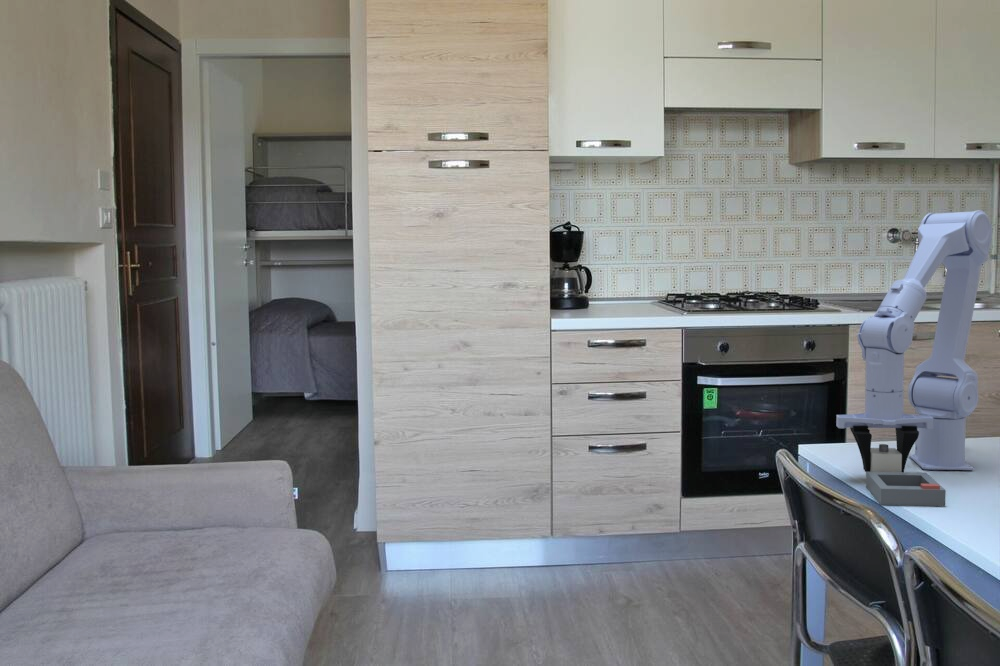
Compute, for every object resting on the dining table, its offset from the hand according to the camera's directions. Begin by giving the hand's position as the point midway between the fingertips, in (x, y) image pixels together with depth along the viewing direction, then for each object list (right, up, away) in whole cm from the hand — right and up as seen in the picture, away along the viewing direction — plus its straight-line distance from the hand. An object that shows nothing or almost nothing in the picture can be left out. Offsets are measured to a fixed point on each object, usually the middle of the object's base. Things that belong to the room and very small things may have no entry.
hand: (883, 470), depth 144 cm
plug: (0, -2, 0) cm, 2 cm away
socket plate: (-1, -3, -9) cm, 9 cm away
